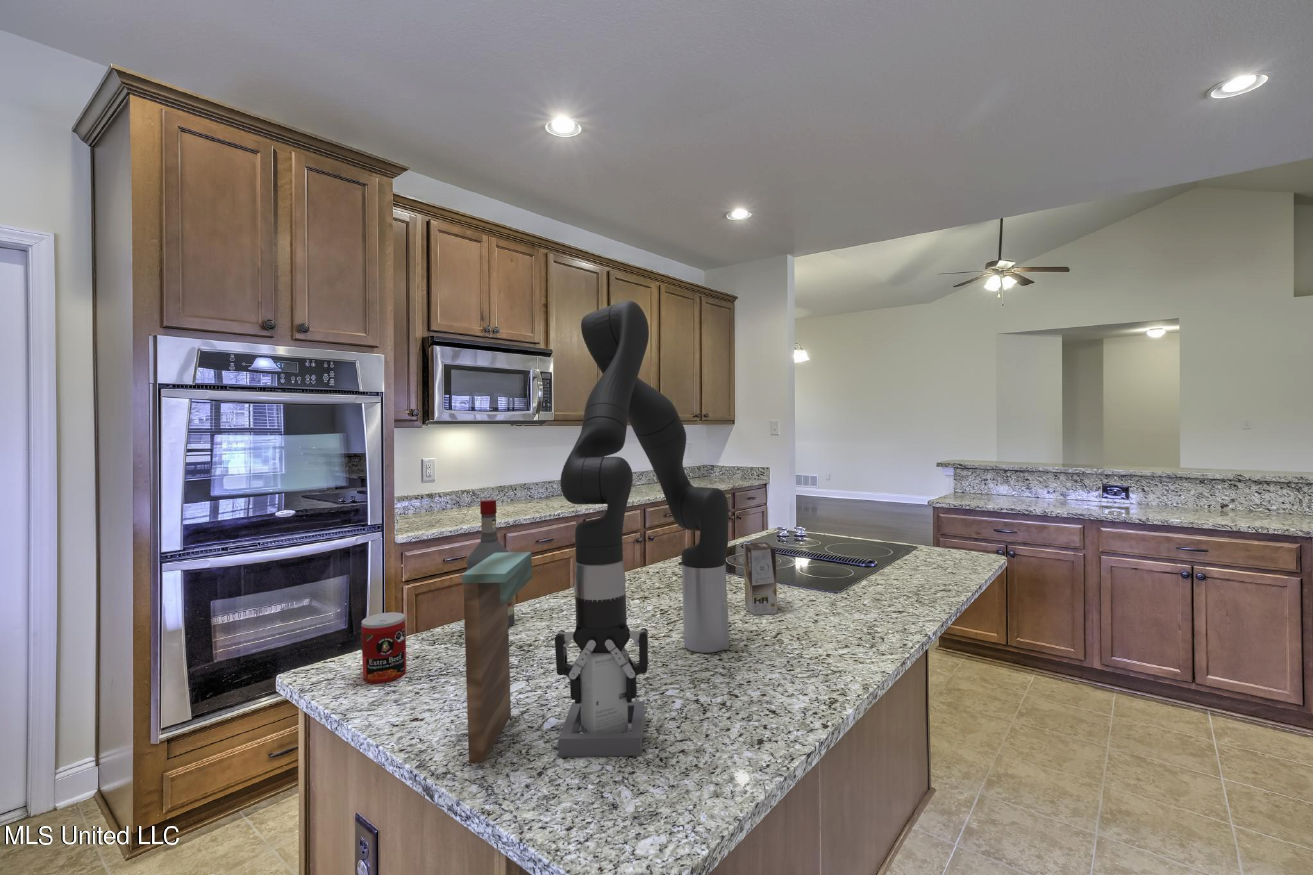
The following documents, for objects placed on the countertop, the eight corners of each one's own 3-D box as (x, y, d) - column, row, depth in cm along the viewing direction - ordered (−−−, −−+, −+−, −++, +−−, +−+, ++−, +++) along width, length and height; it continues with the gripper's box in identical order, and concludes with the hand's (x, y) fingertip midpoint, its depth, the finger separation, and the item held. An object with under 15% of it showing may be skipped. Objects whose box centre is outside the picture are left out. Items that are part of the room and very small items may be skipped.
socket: (645, 716, 95) (644, 700, 95) (640, 755, 83) (640, 737, 83) (572, 717, 95) (572, 701, 95) (558, 756, 84) (558, 738, 84)
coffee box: (778, 614, 146) (776, 548, 146) (752, 615, 145) (750, 549, 145) (768, 603, 155) (766, 541, 155) (744, 604, 155) (742, 542, 154)
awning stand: (536, 713, 97) (531, 551, 97) (510, 764, 82) (505, 573, 82) (499, 713, 97) (494, 552, 97) (467, 764, 82) (461, 574, 82)
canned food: (363, 687, 109) (361, 627, 109) (362, 672, 116) (360, 616, 116) (408, 678, 113) (406, 620, 113) (404, 664, 120) (403, 609, 120)
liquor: (463, 631, 140) (459, 502, 139) (487, 619, 148) (484, 498, 148) (496, 634, 136) (492, 503, 136) (519, 622, 145) (515, 498, 145)
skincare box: (593, 743, 86) (591, 659, 86) (579, 731, 90) (577, 650, 89) (630, 731, 89) (628, 649, 89) (615, 719, 93) (613, 641, 93)
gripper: (649, 583, 93) (652, 689, 93) (557, 585, 93) (560, 691, 93) (647, 596, 85) (650, 712, 85) (547, 598, 86) (550, 713, 86)
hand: (603, 700), depth 89 cm, fingers closed on skincare box, 7 cm apart
